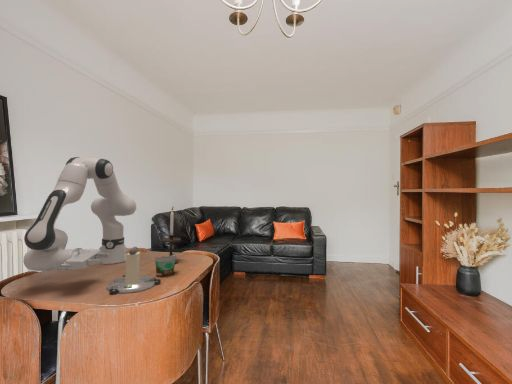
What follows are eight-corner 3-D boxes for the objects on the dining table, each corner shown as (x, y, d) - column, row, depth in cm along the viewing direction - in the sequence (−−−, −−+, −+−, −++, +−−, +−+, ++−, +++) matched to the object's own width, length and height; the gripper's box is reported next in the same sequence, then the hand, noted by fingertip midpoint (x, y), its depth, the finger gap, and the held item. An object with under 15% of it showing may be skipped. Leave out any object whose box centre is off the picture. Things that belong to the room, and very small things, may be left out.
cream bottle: (128, 279, 120) (129, 246, 120) (140, 279, 121) (140, 246, 121) (124, 284, 114) (125, 249, 114) (137, 283, 115) (138, 249, 115)
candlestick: (183, 262, 159) (185, 205, 160) (169, 266, 150) (170, 206, 150) (172, 259, 165) (173, 205, 165) (157, 263, 156) (159, 205, 156)
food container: (161, 279, 126) (162, 259, 127) (153, 277, 130) (154, 257, 130) (181, 273, 137) (181, 254, 137) (173, 271, 140) (173, 252, 140)
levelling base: (116, 278, 126) (116, 273, 126) (163, 276, 131) (163, 271, 131) (99, 295, 105) (100, 289, 105) (156, 292, 110) (157, 286, 110)
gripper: (57, 258, 102) (95, 257, 105) (80, 247, 122) (112, 246, 125) (56, 274, 102) (95, 272, 105) (80, 260, 122) (111, 259, 125)
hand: (104, 258), depth 115 cm, fingers open, 8 cm apart
